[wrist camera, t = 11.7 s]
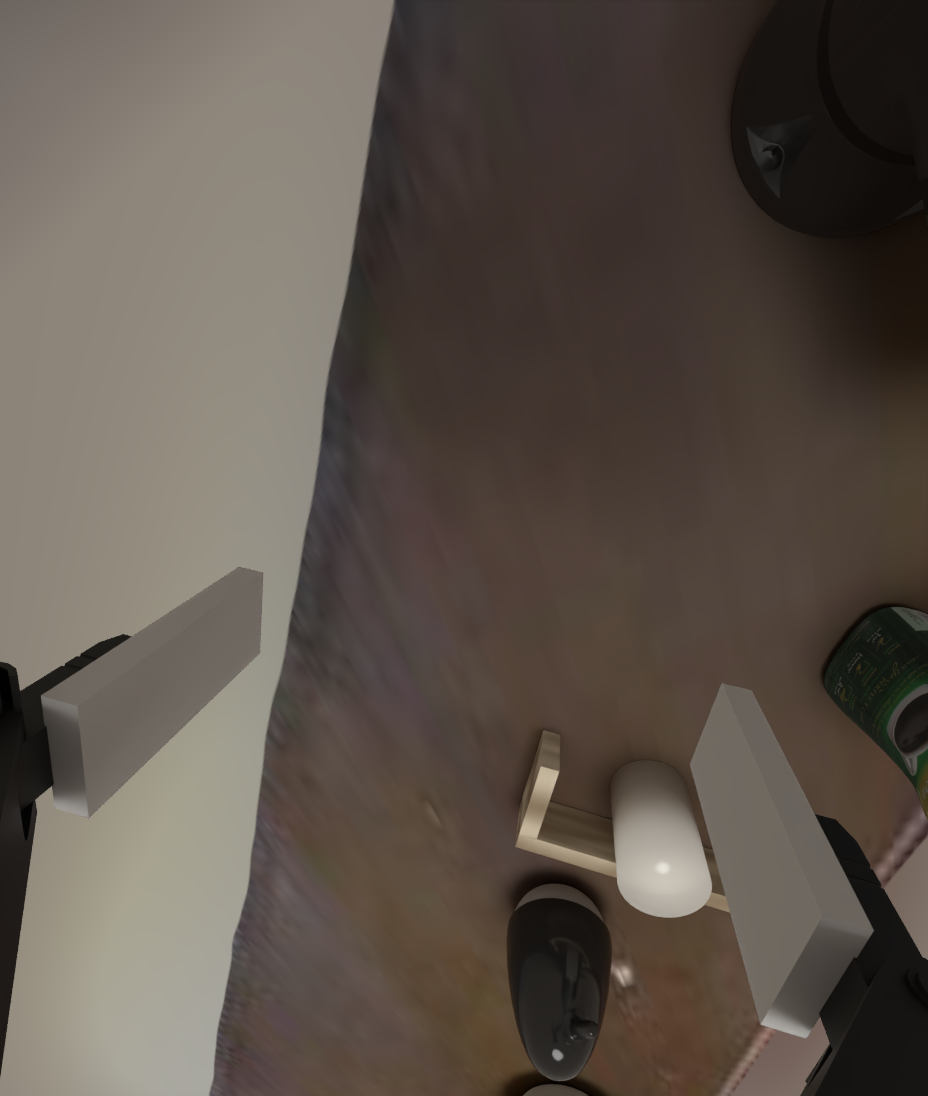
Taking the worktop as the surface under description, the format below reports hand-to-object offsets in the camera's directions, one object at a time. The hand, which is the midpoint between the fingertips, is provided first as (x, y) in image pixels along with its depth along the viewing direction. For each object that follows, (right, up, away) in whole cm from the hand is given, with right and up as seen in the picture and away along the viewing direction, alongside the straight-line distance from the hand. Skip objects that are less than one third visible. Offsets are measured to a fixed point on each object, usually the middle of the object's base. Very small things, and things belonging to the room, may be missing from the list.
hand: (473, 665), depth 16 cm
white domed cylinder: (+17, -19, +37) cm, 45 cm away
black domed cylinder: (+10, -34, +44) cm, 56 cm away
